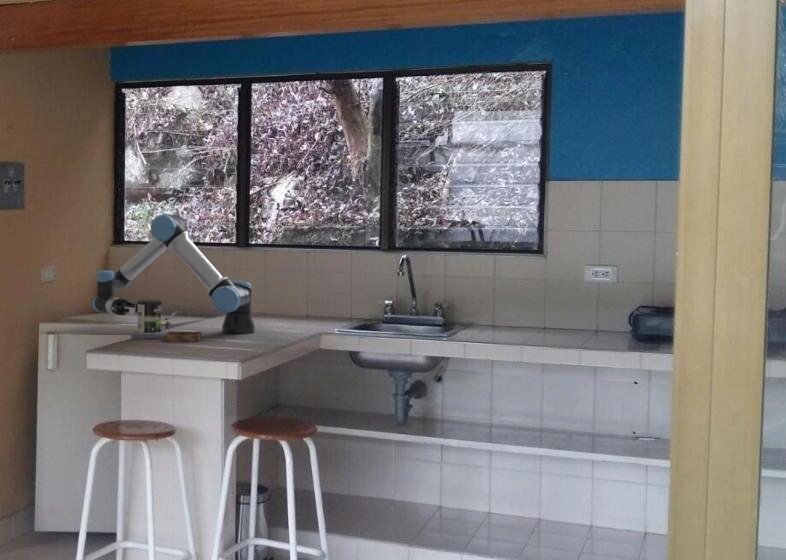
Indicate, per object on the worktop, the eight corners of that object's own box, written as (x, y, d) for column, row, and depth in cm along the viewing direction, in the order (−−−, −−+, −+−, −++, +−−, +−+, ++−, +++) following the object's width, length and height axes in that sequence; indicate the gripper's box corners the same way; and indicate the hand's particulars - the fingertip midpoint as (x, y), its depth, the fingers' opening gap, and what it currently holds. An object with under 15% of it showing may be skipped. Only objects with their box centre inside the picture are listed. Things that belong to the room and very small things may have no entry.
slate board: (166, 334, 406) (166, 331, 406) (162, 338, 393) (162, 335, 393) (136, 334, 404) (136, 331, 404) (131, 338, 392) (131, 335, 391)
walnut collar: (201, 337, 400) (201, 331, 400) (198, 341, 386) (198, 335, 386) (167, 337, 398) (168, 331, 398) (163, 341, 384) (163, 335, 384)
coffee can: (165, 332, 402) (165, 300, 401) (154, 335, 392) (154, 302, 391) (144, 331, 405) (144, 299, 404) (132, 334, 395) (132, 301, 394)
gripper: (141, 312, 421) (170, 316, 408) (93, 316, 402) (123, 320, 389) (141, 296, 421) (170, 299, 408) (93, 299, 401) (123, 303, 388)
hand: (147, 310), depth 398 cm, fingers open, 13 cm apart
